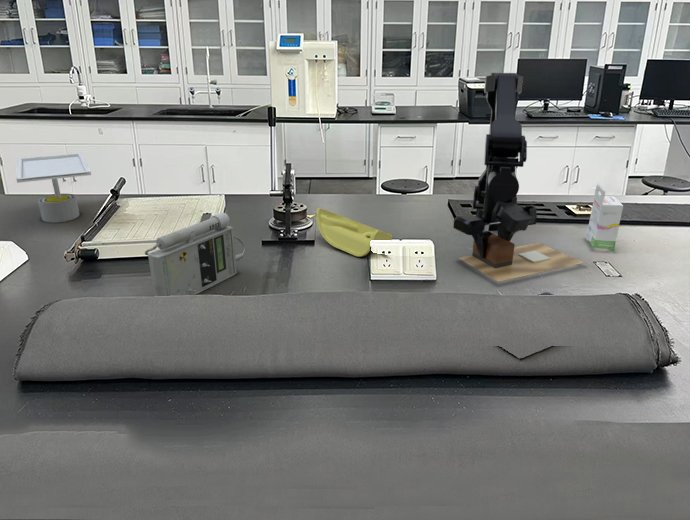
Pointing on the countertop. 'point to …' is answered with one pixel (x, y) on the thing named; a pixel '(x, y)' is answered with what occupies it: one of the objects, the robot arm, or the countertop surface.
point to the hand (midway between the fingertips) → (491, 256)
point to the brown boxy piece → (496, 252)
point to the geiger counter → (194, 257)
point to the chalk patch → (534, 256)
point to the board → (524, 263)
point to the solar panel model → (54, 182)
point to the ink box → (604, 220)
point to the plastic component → (348, 233)
